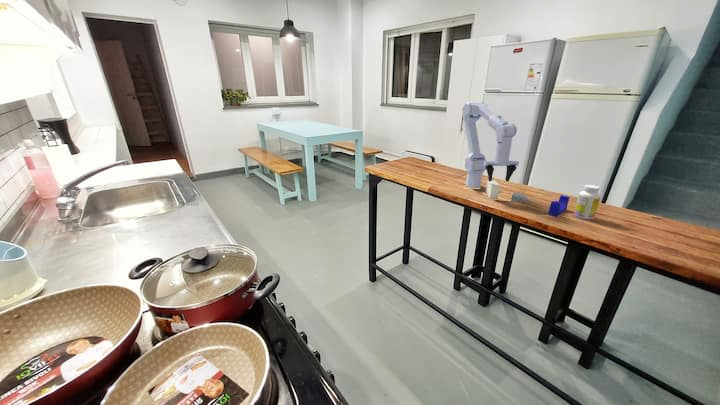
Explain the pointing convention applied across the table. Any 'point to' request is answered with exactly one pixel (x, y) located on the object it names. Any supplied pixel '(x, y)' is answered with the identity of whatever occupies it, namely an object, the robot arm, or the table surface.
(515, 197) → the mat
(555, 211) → the blue l-shaped block
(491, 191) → the card box
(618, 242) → the table surface
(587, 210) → the supplement bottle
